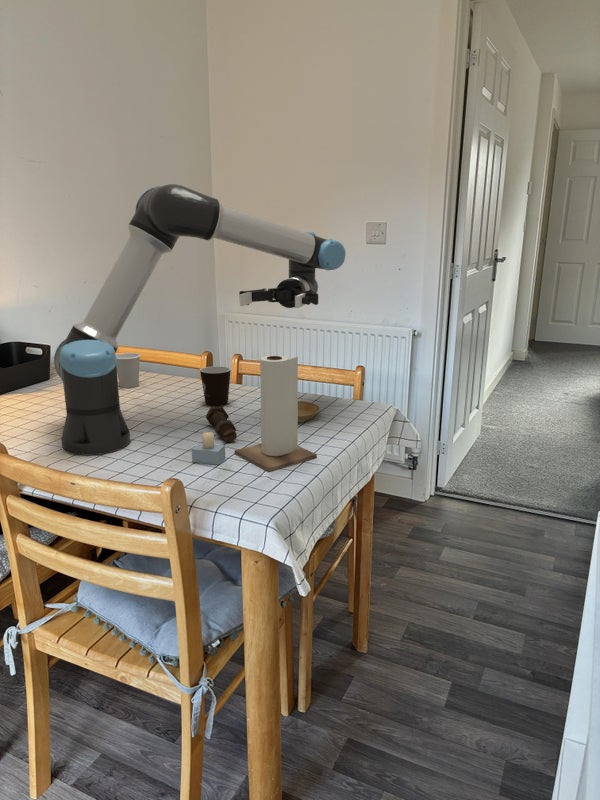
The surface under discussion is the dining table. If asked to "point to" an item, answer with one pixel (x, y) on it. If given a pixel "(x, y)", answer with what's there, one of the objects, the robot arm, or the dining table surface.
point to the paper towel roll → (279, 405)
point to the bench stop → (208, 451)
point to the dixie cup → (128, 369)
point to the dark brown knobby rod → (221, 423)
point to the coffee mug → (215, 385)
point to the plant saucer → (306, 410)
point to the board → (274, 457)
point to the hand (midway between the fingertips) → (268, 301)
